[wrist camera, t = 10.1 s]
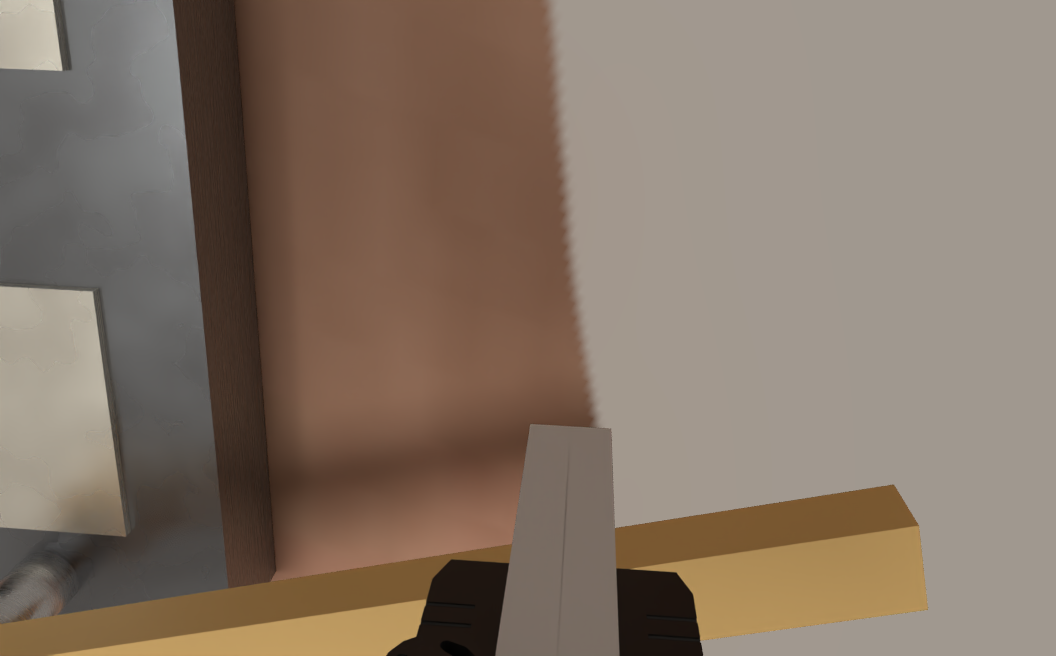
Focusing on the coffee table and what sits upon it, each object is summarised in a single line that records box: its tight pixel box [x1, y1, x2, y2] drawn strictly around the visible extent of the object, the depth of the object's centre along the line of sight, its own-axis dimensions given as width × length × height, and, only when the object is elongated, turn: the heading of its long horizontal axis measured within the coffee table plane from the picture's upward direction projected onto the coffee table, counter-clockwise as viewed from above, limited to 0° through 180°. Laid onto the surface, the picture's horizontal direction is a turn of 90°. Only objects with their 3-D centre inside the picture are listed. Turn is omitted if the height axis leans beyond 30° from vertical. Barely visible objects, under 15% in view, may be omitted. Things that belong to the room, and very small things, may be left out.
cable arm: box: [0, 485, 928, 656], centre depth 23 cm, size 27×4×2 cm, turn 103°
